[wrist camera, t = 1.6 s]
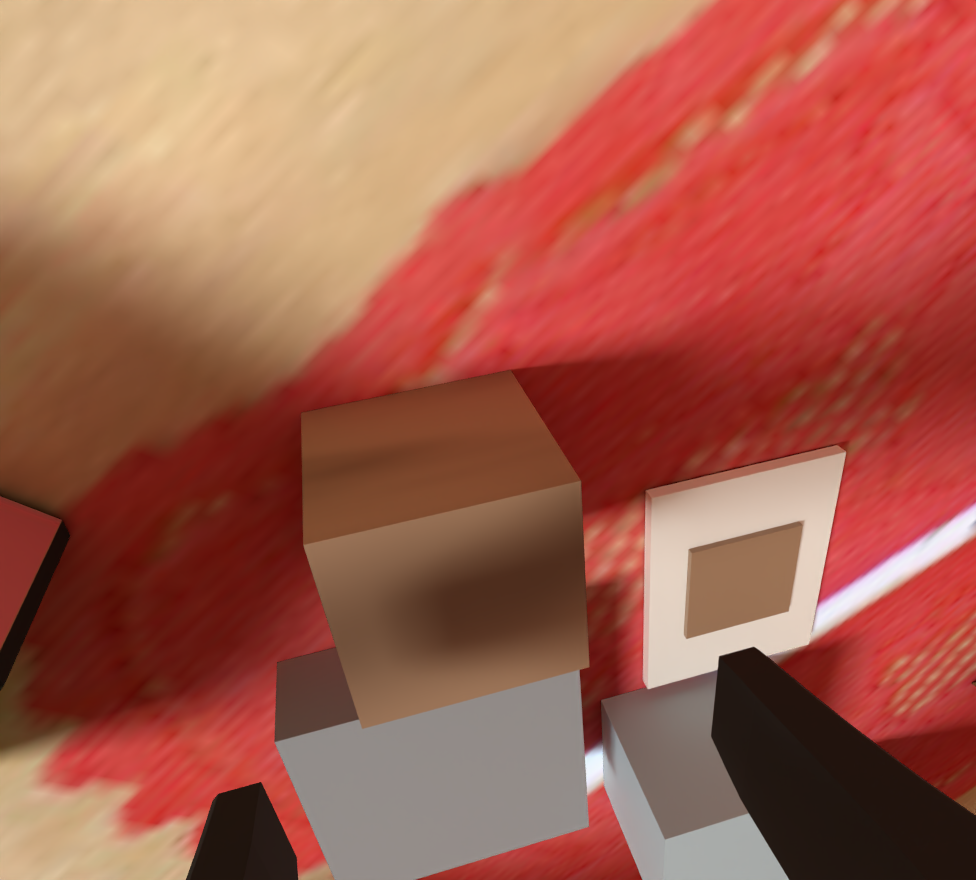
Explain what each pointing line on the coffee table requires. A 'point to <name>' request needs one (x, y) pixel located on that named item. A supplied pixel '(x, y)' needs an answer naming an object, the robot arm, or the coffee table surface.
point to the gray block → (678, 787)
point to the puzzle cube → (24, 572)
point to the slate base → (430, 772)
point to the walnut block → (444, 544)
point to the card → (735, 562)
